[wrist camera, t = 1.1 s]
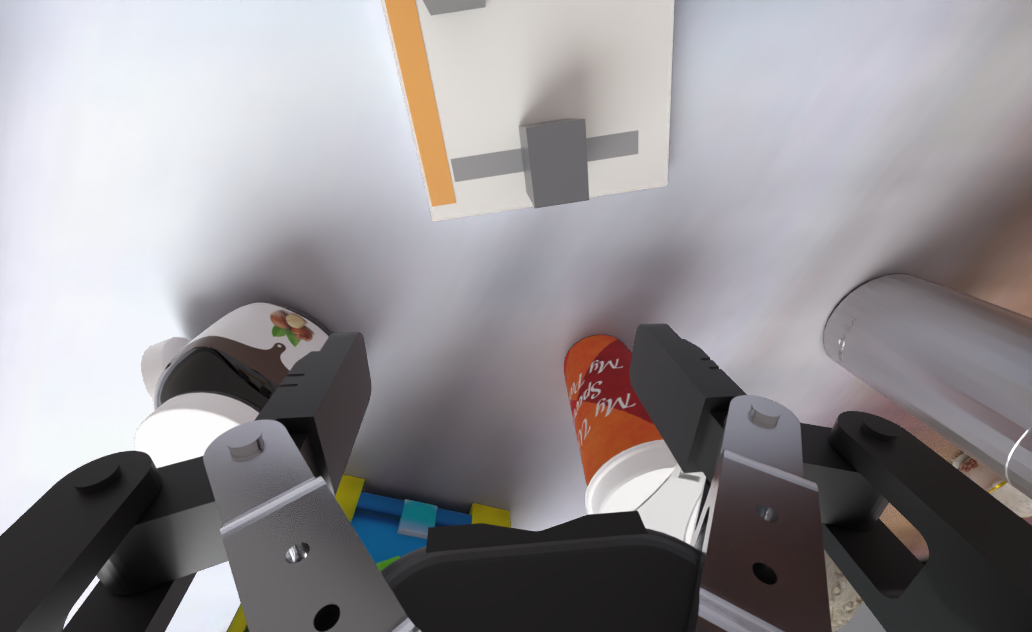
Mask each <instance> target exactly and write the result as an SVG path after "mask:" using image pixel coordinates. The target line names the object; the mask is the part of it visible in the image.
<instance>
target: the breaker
mask: <svg viewBox="0 0 1032 632" xmlns="http://www.w3.org/2000/svg"><path fill="white" fill-rule="evenodd" d="M423 2H424V4H425V6H426V7H427V9H428V11H429V13H430V15H431V16H432V15H438V14H445V13H451V12H458V11H464V10H471V9H477V8H484V7H486V0H423Z"/></svg>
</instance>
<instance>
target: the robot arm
mask: <svg viewBox="0 0 1032 632" xmlns="http://www.w3.org/2000/svg"><path fill="white" fill-rule="evenodd" d="M823 342H824V348H825V350H826V352H827V355H828V356H829V357H830V358H831V359H832V360H833V361H835V362H836V363H838V364H839V365H841V366H842V367H843V368H845V369H846V370H848V371H849V372H851V373H852V374H853V375H855V376H856V377H858V378H859V379H861V380H862V381H863V382H865V383H866V384H868V385H869V386H870V387H872V388H873V389H874V390H876V391H877V392H879V393H880V394H882V395H883V396H884V397H886V398H887V399H889V400H890V401H892V402H893V403H894V404H896V405H897V406H899V407H900V408H902V409H903V410H904V411H906V412H907V413H909V414H910V415H912V416H913V417H914V418H916V419H917V420H919V421H920V422H921V423H923V424H924V425H926V426H927V427H929V428H930V429H931V430H933V431H934V432H936V433H937V434H939V435H940V436H941V437H943V438H944V439H946V440H947V441H949V442H950V443H951V444H953V445H954V446H956V447H957V448H959V449H960V450H961V451H963V452H964V453H966V454H967V455H969V456H970V457H971V458H973V459H974V460H976V461H977V462H979V463H980V464H981V465H983V466H984V467H986V468H987V469H989V470H990V471H991V472H993V473H994V474H996V475H997V476H998V477H1000V478H1001V479H1003V480H1004V481H1006V482H1007V483H1008V484H1010V485H1011V486H1013V487H1014V488H1016V489H1018V490H1019V491H1020V492H1022V493H1023V494H1025V495H1026V496H1027V497H1029V498H1030V499H1032V318H1030V317H1027V316H1025V315H1022V314H1019V313H1016V312H1014V311H1011V310H1008V309H1006V308H1003V307H1000V306H998V305H995V304H992V303H989V302H987V301H984V300H981V299H979V298H976V297H973V296H971V295H968V294H965V293H962V292H960V291H957V290H954V289H952V288H949V287H946V286H944V285H941V284H938V283H930V282H928V281H925V280H922V279H920V278H917V277H914V276H911V275H908V274H892V275H886V276H883V277H879V278H876V279H874V280H872V281H870V282H868V283H866V284H864V285H862V286H860V287H859V288H857V289H856V290H854V291H853V292H852V293H850V294H849V295H848V296H847V297H846V298H845V299H844V300H843V301H842V302H841V303H840V304H839V305H838V306H837V308H836V309H835V310H834V311H833V313H832V315H831V316H830V318H829V320H828V322H827V325H826V327H825V330H824V337H823ZM630 381H631V385H632V388H633V390H634V391H635V393H636V395H637V396H638V398H639V400H640V401H641V403H642V405H643V406H644V408H645V410H646V411H647V413H648V415H649V416H650V418H651V420H652V421H653V423H654V425H655V426H656V428H657V430H658V431H659V433H660V435H661V436H662V438H663V440H664V441H665V443H666V445H667V446H668V448H669V450H670V451H671V453H672V455H673V456H674V458H675V459H676V461H677V463H678V464H679V466H680V468H681V469H682V471H683V473H694V472H703V473H704V475H705V476H706V478H705V481H704V484H703V488H702V492H701V497H700V501H699V506H698V510H697V515H696V519H695V524H694V528H693V533H692V537H691V542H690V544H688V543H686V542H684V541H682V540H680V539H678V538H676V537H673V536H671V535H668V534H665V533H663V532H659V531H655V530H652V529H647V528H645V526H644V524H643V521H642V519H641V517H640V514H639V512H638V511H626V512H614V513H601V514H589V515H586V516H583V517H580V518H577V519H574V520H571V521H569V522H566V523H563V524H560V525H557V526H554V527H551V528H549V529H546V530H543V531H528V530H521V529H515V528H509V527H503V526H497V525H490V524H484V523H477V524H465V525H452V526H440V527H428V535H427V545H426V546H425V547H422V548H419V549H416V550H414V551H412V552H410V553H408V554H406V555H404V556H402V557H401V558H399V559H397V560H396V561H394V562H392V563H391V564H389V565H388V566H387V567H385V568H384V569H383V570H382V571H380V570H379V569H378V567H377V565H376V564H375V562H374V560H373V559H372V557H371V556H370V554H369V552H368V551H367V549H366V547H365V546H364V544H363V543H362V541H361V539H360V538H359V536H358V534H357V533H356V531H355V529H354V528H353V526H352V525H351V523H350V521H349V520H348V518H347V516H346V515H345V513H344V512H343V510H342V508H341V507H340V505H339V503H338V502H337V500H336V498H335V495H336V493H337V490H338V487H339V484H340V481H341V479H342V476H343V473H344V470H345V467H346V465H347V462H348V459H349V456H350V453H351V451H352V448H353V445H354V442H355V439H356V437H357V434H358V431H359V428H360V425H361V423H362V420H363V417H364V414H365V411H366V409H367V406H368V403H369V400H370V395H371V378H370V372H369V367H368V361H367V355H366V349H365V343H364V338H363V335H362V334H361V333H360V332H351V333H332V334H330V336H329V337H328V339H327V340H326V342H325V344H324V345H323V347H322V348H321V350H320V351H311V352H310V353H308V354H307V355H305V356H304V357H303V358H301V359H300V360H298V361H297V362H296V363H295V364H294V365H293V367H292V368H291V370H290V371H289V372H288V374H287V377H285V378H284V379H283V381H282V382H281V384H280V387H278V388H277V389H276V391H275V392H274V393H273V395H272V396H271V398H270V399H269V400H268V402H267V403H266V405H265V406H264V407H263V409H262V410H261V412H260V413H259V414H258V416H257V417H256V419H255V420H254V421H251V422H247V423H244V424H241V425H238V426H236V427H234V428H231V429H230V430H228V431H226V432H224V433H223V434H221V435H220V436H218V437H217V438H216V439H215V440H214V441H213V442H212V443H211V444H210V445H209V446H208V447H207V449H206V451H205V453H204V456H201V457H197V458H193V459H190V460H186V461H182V462H178V463H174V464H171V465H167V466H163V467H159V468H156V466H155V464H154V462H153V461H152V459H151V457H150V456H149V455H148V454H147V453H145V452H141V451H125V452H119V453H115V454H111V455H107V456H104V457H101V458H99V459H96V460H94V461H91V462H89V463H87V464H85V465H83V466H81V467H79V468H77V469H76V470H74V471H72V472H71V473H69V474H68V475H66V476H65V477H64V478H62V479H61V480H60V481H58V482H57V483H56V484H55V485H54V486H53V487H52V488H51V489H50V490H48V491H47V492H46V493H45V494H44V495H43V496H42V497H41V498H40V499H39V500H38V501H37V502H36V503H35V504H34V505H33V506H32V507H30V508H29V509H28V510H27V511H26V512H25V513H24V514H23V515H22V516H21V517H20V518H19V519H18V520H17V521H16V522H15V523H14V524H13V525H11V526H10V527H9V528H8V529H7V530H6V531H5V532H4V533H3V534H2V535H1V536H0V632H165V630H166V628H167V627H168V625H169V623H170V621H171V619H172V617H173V615H174V614H175V612H176V610H177V608H178V606H179V604H180V602H181V601H182V599H183V597H184V595H185V593H186V591H187V590H188V588H189V586H190V584H191V582H192V580H193V578H194V577H195V575H196V573H197V572H198V571H201V570H203V569H206V568H209V567H212V566H215V565H217V564H220V563H223V562H226V561H229V564H230V567H231V571H232V574H233V577H234V581H235V584H236V588H237V591H238V595H239V598H240V602H241V605H242V608H243V612H244V615H245V619H246V622H247V626H248V629H249V632H832V627H831V617H830V606H829V596H828V586H827V576H826V565H825V555H824V550H825V551H826V553H827V554H828V555H829V557H830V558H831V559H832V560H833V562H834V563H835V564H836V566H837V567H838V568H839V570H840V571H841V572H842V574H843V575H844V576H845V578H846V579H847V580H848V582H849V583H850V584H851V585H852V587H853V588H854V589H855V591H856V592H857V593H858V595H859V596H860V597H861V599H862V600H863V601H864V603H865V604H866V605H867V607H868V608H869V609H870V610H871V612H872V613H873V614H874V616H875V617H876V618H877V620H878V621H879V622H880V624H881V625H882V626H883V628H884V629H885V630H886V632H1032V526H1031V525H1030V524H1029V523H1028V522H1026V521H1025V520H1024V519H1022V518H1021V517H1020V516H1018V515H1017V514H1016V513H1014V512H1013V511H1012V510H1010V509H1009V508H1008V507H1007V506H1005V505H1004V504H1003V503H1001V502H1000V501H999V500H997V499H996V498H995V497H993V496H992V495H991V494H989V493H988V492H987V491H985V490H984V489H983V488H982V487H980V486H979V485H978V484H976V483H975V482H974V481H972V480H971V479H970V478H968V477H967V476H966V475H964V474H963V473H962V472H960V471H959V470H958V469H957V468H955V467H954V466H953V465H951V464H950V463H949V462H947V461H946V460H945V459H943V458H942V457H941V456H939V455H938V454H937V453H936V452H934V451H933V450H932V449H930V448H929V447H928V446H926V445H925V444H924V443H922V442H921V441H920V440H918V439H917V438H916V437H914V436H913V435H912V434H911V433H909V432H908V431H906V430H905V429H904V428H902V427H900V426H899V425H897V424H895V423H893V422H891V421H889V420H886V419H884V418H882V417H879V416H876V415H873V414H869V413H864V412H858V411H847V412H843V413H841V414H840V415H839V416H838V418H837V420H836V422H835V424H834V426H833V428H828V427H822V426H816V425H810V424H804V423H800V422H799V420H798V418H797V417H796V416H795V415H794V414H793V413H792V412H791V411H790V410H789V409H787V408H786V407H784V406H783V405H781V404H779V403H777V402H775V401H772V400H770V399H767V398H764V397H760V396H754V395H747V394H746V393H745V392H744V391H743V390H742V389H741V388H740V387H739V386H738V385H737V384H736V383H735V382H734V381H733V380H732V379H731V378H730V377H729V376H728V375H727V374H726V373H725V372H724V371H723V370H722V369H719V366H718V365H717V364H716V363H715V362H714V361H713V360H710V357H709V356H708V355H707V354H706V353H705V352H704V351H703V350H702V349H701V348H699V347H698V346H696V345H694V344H692V343H690V342H689V341H687V340H685V339H681V338H680V337H679V336H678V335H677V334H676V333H675V332H674V331H673V330H672V329H671V328H670V326H669V325H667V324H641V325H639V327H638V328H637V331H636V336H635V342H634V348H633V353H632V359H631V364H630ZM889 502H890V503H891V504H892V505H893V506H894V507H895V508H896V509H897V510H898V511H899V512H900V513H901V514H902V515H903V516H904V517H905V518H906V519H907V520H908V521H909V522H910V523H911V524H912V525H913V526H914V527H915V528H916V529H917V530H918V531H919V532H920V533H921V535H922V536H923V537H924V539H925V541H926V543H927V545H928V549H929V559H928V561H927V563H926V564H925V566H924V565H923V564H922V563H921V562H920V561H919V560H918V559H917V558H916V557H915V556H914V555H913V554H912V553H911V552H910V551H909V550H908V548H907V547H906V546H905V545H904V544H903V543H902V542H901V541H900V540H899V539H898V538H897V537H896V536H895V535H894V534H893V533H892V532H891V531H890V530H889V529H888V528H887V526H886V525H885V524H884V523H883V522H882V521H881V520H880V519H879V517H880V516H881V514H882V512H883V511H884V509H885V508H886V506H887V505H888V503H889ZM96 575H97V577H98V578H99V579H100V581H99V582H98V584H97V585H96V586H95V588H94V589H93V590H92V592H91V593H90V594H89V596H88V597H87V598H86V600H85V601H84V602H83V604H82V605H81V607H80V608H79V609H78V611H77V612H76V613H75V615H74V616H73V617H72V619H71V620H70V621H69V623H68V624H67V625H66V627H65V628H64V629H63V627H64V624H65V621H66V618H67V616H68V614H69V612H70V610H71V609H72V607H73V606H74V604H75V603H76V602H77V600H78V599H79V598H80V596H81V595H82V594H83V592H84V591H85V590H86V588H87V587H88V586H89V584H90V583H91V582H92V580H93V579H94V578H95V576H96Z"/></svg>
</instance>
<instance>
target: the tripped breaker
mask: <svg viewBox="0 0 1032 632" xmlns="http://www.w3.org/2000/svg"><path fill="white" fill-rule="evenodd" d="M519 135H520V143H521V151H522V159H523V168H524V176H525V184H526V192H527V194H528V196H529V198H530V200H531V202H532V204H533V206H534V208H540V207H547V206H553V205H560V204H566V203H573V202H579V201H586V200H589V184H588V164H587V145H586V125H585V119H574V118H566V119H559V120H553V121H546V122H540V123H533V124H527V125H520V126H519Z"/></svg>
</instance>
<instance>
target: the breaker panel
mask: <svg viewBox="0 0 1032 632" xmlns="http://www.w3.org/2000/svg"><path fill="white" fill-rule="evenodd" d="M381 3H382V7H383V11H384V16H385V20H386V24H387V28H388V33H389V37H390V41H391V46H392V50H393V54H394V58H395V63H396V67H397V71H398V75H399V80H400V84H401V88H402V93H403V97H404V101H405V105H406V110H407V114H408V118H409V122H410V127H411V131H412V135H413V140H414V144H415V148H416V152H417V157H418V161H419V165H420V169H421V174H422V178H423V182H424V187H425V191H426V195H427V199H428V204H429V208H430V212H431V216H432V221H433V222H435V221H442V220H448V219H455V218H461V217H468V216H474V215H481V214H487V213H494V212H500V211H507V210H513V209H520V208H526V207H533V204H532V202H531V200H530V198H529V196H528V194H527V192H526V184H525V176H524V168H523V159H522V151H521V143H520V135H519V126H520V125H527V124H533V123H540V122H546V121H553V120H559V119H566V118H574V119H585V125H586V145H587V164H588V184H589V198H591V197H598V196H604V195H611V194H617V193H624V192H630V191H637V190H643V189H650V188H656V187H663V186H667V184H668V157H669V130H670V104H671V77H672V50H673V23H674V0H486V7H484V8H477V9H471V10H464V11H458V12H451V13H445V14H438V15H432V16H431V15H430V13H429V11H428V9H427V7H426V6H425V4H424V2H423V0H381Z"/></svg>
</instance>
